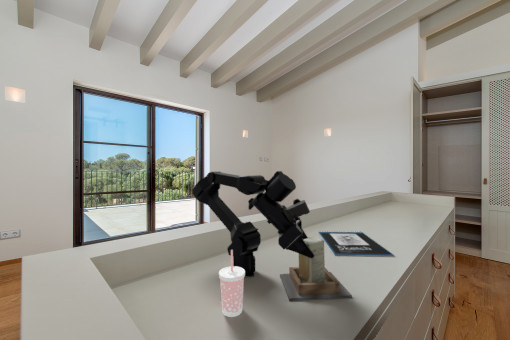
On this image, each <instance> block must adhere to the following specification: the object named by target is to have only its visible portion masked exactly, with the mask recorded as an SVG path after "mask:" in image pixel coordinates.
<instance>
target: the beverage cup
mask: <svg viewBox="0 0 510 340" xmlns="http://www.w3.org/2000/svg"><path fill="white" fill-rule="evenodd" d="M244 276H245V270H244V269H243V268H242V267H238V266H233V250H231V256H230V266H225V267H223V268H221V269H219V271H218V278H219V283H220V296H221V308H222V309H221V310H222V314H223V315H224V316H225V317H229V318H233V317H238V316H240V314H242V313H243V305H244V304H243V303H244V302H243V301H244V283H245V277H244Z"/></svg>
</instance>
